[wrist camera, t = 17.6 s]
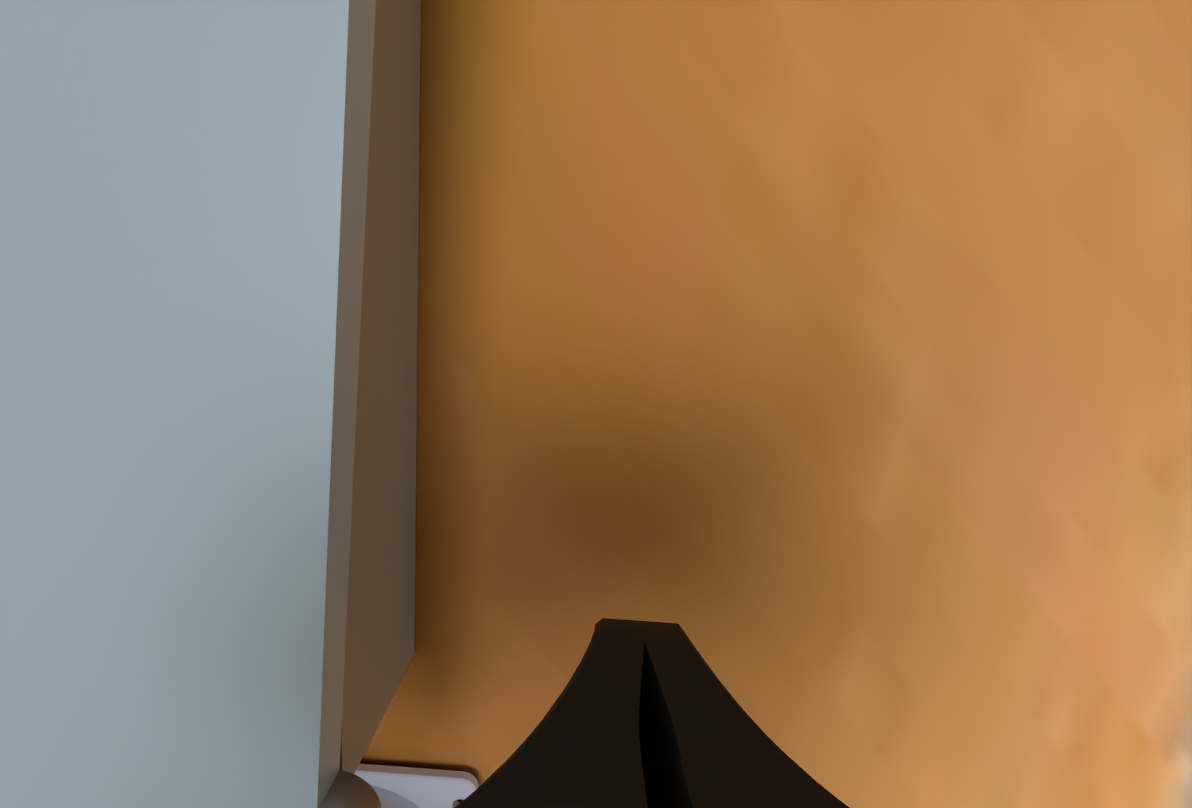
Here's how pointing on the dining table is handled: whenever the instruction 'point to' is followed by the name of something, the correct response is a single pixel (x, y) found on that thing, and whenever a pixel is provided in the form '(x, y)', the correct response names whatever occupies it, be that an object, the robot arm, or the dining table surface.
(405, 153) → the grey angular open frame
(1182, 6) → the dining table surface
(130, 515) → the cover
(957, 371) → the dining table surface
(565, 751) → the robot arm
